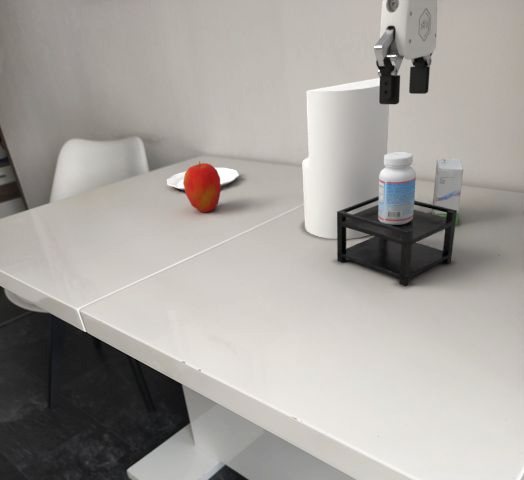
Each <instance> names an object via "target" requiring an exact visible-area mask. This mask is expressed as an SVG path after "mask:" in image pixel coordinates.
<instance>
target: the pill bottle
mask: <svg viewBox="0 0 524 480" xmlns="http://www.w3.org/2000/svg"><path fill="white" fill-rule="evenodd" d="M413 157H414V155H413V154H412V153H411V152H408V151H394V152H393V151H392V152H387V154H386V155H385V156H384V165H385V168H384V169H383V170H382V171H381V172H380V175H379V209H378V219H379V221H380V222H382V223H384V224H388V225H402V224H406V223H408V222H410V221H411V220H412V219H413V213H414V210H415V205H414V200H415V194H416V177H417V173H416V169H414V168H413V167H411V166H412V164H413Z"/></svg>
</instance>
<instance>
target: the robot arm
mask: <svg viewBox="0 0 524 480" xmlns="http://www.w3.org/2000/svg"><path fill="white" fill-rule="evenodd" d="M380 13H381V14H380V26H379V27H380V29H379V39H378V41H377V42H376V43H375V45H374V48H373V49H374V54H375V55H374V56H375V59H376V61H375V64H376V68H377V69H378V70H377V75H378V77H379V78H380V91H379V103H380V104H389V105H398V104H399V103H400V93H401V90H400V89H401V75H400V74H399V71H400V68H401V66H402V63H403V60H404V59H405V60H407V61H409V60H411V63H412V66H410V67H409V83H408V84H409V87H408V92H409V94H414V95H415V94H416V95H418V94H419V95H423V94H424V95H426V94H427V93H429V85H430V70H431V66H432V61H433V59H432V55H433V54H434V51H435V50H436V46H437V33H438V31H437V30H438V0H382V3H381V11H380ZM392 62H393V63H392Z"/></svg>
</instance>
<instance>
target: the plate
mask: <svg viewBox="0 0 524 480" xmlns="http://www.w3.org/2000/svg"><path fill="white" fill-rule="evenodd" d="M214 168H215V169H216V170H217V172H218V174H219V176H220V186H221V187H224V186H226V185H228V184H230V183H232V182H234V181H235V180H236V179H237V178H239V177H240V173H239V172H238V170H237V169H232V168H228V167H214ZM186 171H187V170H186ZM186 171H182V172H178V173H176V174H172V176H170V177H168V178H167V179H166V185H167V186H169V187H171V188H176V189H178V190H181V191H185V188H184V184H183V182H184V176H185V173H186Z"/></svg>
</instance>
